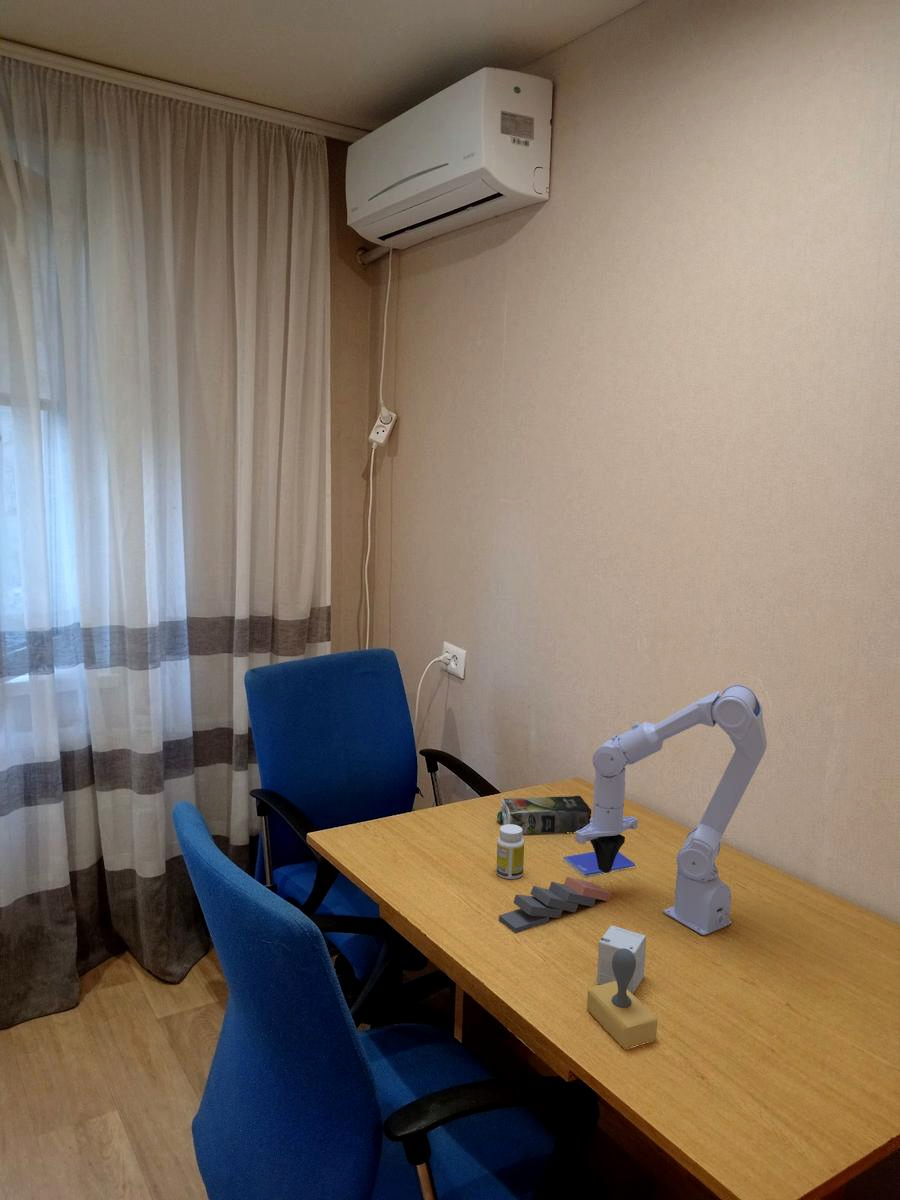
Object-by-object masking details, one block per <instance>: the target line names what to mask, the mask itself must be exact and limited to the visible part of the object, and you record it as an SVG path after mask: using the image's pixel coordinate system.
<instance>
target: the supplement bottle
mask: <svg viewBox="0 0 900 1200" xmlns="http://www.w3.org/2000/svg"><path fill="white" fill-rule="evenodd" d="M496 841H497V843H496V868H495V869H496V874H497V875H498V876H499V877H500V878H502V879H506V880H517V879H519V878H521V877H523V874H524V864H525V863H524V861H525V840H524V838H523V835H522V828H521V827H520V826H518V825H513V824H507V825H503V824H502V825H501V826H500V828H499V837H498V838H497V840H496Z"/></svg>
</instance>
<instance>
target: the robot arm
mask: <svg viewBox="0 0 900 1200" xmlns="http://www.w3.org/2000/svg"><path fill="white" fill-rule="evenodd" d="M721 692H722V694H721ZM720 694H721V695H720ZM700 724H701V725H704V726H708V727H711V728H714V727H716V726H715V725H718V727H719V728H721V730H722V731H724V732H725V734H727V735H728V736H729V738H730V740H731V742H732V744H733V746H734V748H735V750H734V753H733V754H732V757H731V759H729V762H728V764H727V767H726V768H725V770H724V773H723V775H722V776H721V779H720V780H719V783H718V784H717V787H716V789H715V791H714V792H713V795H712V797H711V798H710V801H709V803H708V805H707V807H706V809H705V811H704V812H703V815H702V817H701V819H700V820H699V822H698V825H697V827H695V828H694V829H692V830H691V831H690V832H688V834H687V835H686V838H685V841H684V843H683V845H682V847H681V848H680V849H679V850H678V853H677V854H676V859H675V860H676V880H675V892H674V895H675V896H674V904H673V906H671V907H668V908H665V909H663V913H664V914H665V915H667V916H669V917H670V918H672V919H674V920H676V921H677V922H678V923H681V924H683V925H684V926H686V927H688V928H690V929H691V930H693V931H694V932H696V933H698V934H699V935H702V936H706V935H709V934H711V933H713V932H716V931H718V930H720V929H722V928H723V929H724V928H726V927H727V925H728V926H730V925H732V920H730V916H731V915H730V912H731V901H732V889H731V888H730V886H729V885H728V884H727V883H725V882H724V881H723V880H722V879H721V877H720V876H719V869H718V867H717V865H716V863H715V861H716V859H717V857H718V856H719V854H720V851H721V840H722V837H723V835H724V833H725V831H726V829H727V827H729V826H728V825H729V824H730V821H731V820H732V818H733V815H734V813H735V812H736V810H737V808H738V806H739V803H740V802H741V799H743V795H744V794H745V792H746V790H747V788H748V786H749V785H750V782H751V781H752V778H753V776H754V775H755V772H756V770H757V768H758V766H759V764H760V762H761V760H762V758H763V757H764V756H765V755H764V754H765V753H766V750H767V747H768V741H767V735H766V728H765V723H764V718H763V706H762V704H761V702H760V701H759V698H758V697H757V695H756V694H755V691H753V690H752V689H751V688H749V687H748V686H746V685H743V684H732V685H729V686H728V687H726V688H725V689H724V690H723V691H722V690H718V691H715V692H713V693H710V694H708V695H706V696H704V697H702V698H700V699H698V700H696V701H694V702H692V703H691V704H689V705H687V706H686V707H683V708H682V709H680V710H678V711H676V712H675V713H673V714H672V715H670V716H668V717H666V718H665V719H663V720H661V721H660V722H657V723H651V722H648V721H644V722H641V723H640V721H637V722H635V723H634V724H632V725H631V729H629V730H627V731H625V732H623V733H622V734H619V735H618V734H615V735H612V736H611V738H610V739H608V740H607V741H605V742H603V743H602V744H601V745H600V746H599V747H598V748H597V749H596V750H595V751H594V753H593V755H592V760H591V761H592V765H593V768H594V769H595V778H594V787H593V790H594V791H593V806H592V817H591V819H590V823H589V824H588V825H587V826H585V827H584V828H582V829H581V830H578V831H576V833H575V837H574V838H575V842H577V843H579V844H581V845H585V844H587V842H588V841H589V842H590V844H591V845H592V849H593V850H594V851H593V852H595V854H596V858H597V863H598V868H599V870H601V871H603V872H604V873H607V874H609V873H608V872H611V869H612V866H613V863H614V860H615V857H616V855H617V853H618V852H619V851H620V850H621V847H622V846H623V845H624V844H625V841H626V837H625V836H624V835H623V834H622V833H624V832H625V831H626V830H630V829H632V830H635V829H638V818H636V817H634V816H631V815H627V816H624V812H625V811H624V810H625V809H624V808H625V792H626V766H628V765H629V766H630V765H634V764H636V763H638V762H640V761H642V760H643V759H644V760H645V758H647V757H649V756H651V755H653V754H655V753H658V752H659V751H661V750H662V748H663V744H664V742H665V740H667V739H669V738H671V737H673V736H675V735H677V734H680V733H682V732H684V731H687V730H689V729H691V728H693V727H695V726H697V725H700ZM729 924H730V925H729Z"/></svg>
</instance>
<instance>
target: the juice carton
mask: <svg viewBox="0 0 900 1200" xmlns="http://www.w3.org/2000/svg"><path fill="white" fill-rule="evenodd" d="M500 806H501V807H500V811H498V812H497V815H496V820H498V822H499V823H500V824H502V826H503V825H507V824H513V825H518V826H520V827H521V828H522V836H532V835H555V834H554V833H563V834H568V833H567V832H576V831H578V830H581V829H582V828H584V827H585V826H587V825H588V824H589V823H590V819H591V818H592V809H591V807H590V806H589V805H588V804H587V802H586V801H585V800H584V799H583V797H582V796H581V795H573V796H572V795H570V796H542V797H541V796H540V797H539V796H538V797H535V796H534V797H513V798H502V799H501V805H500ZM551 833H553V834H551Z"/></svg>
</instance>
